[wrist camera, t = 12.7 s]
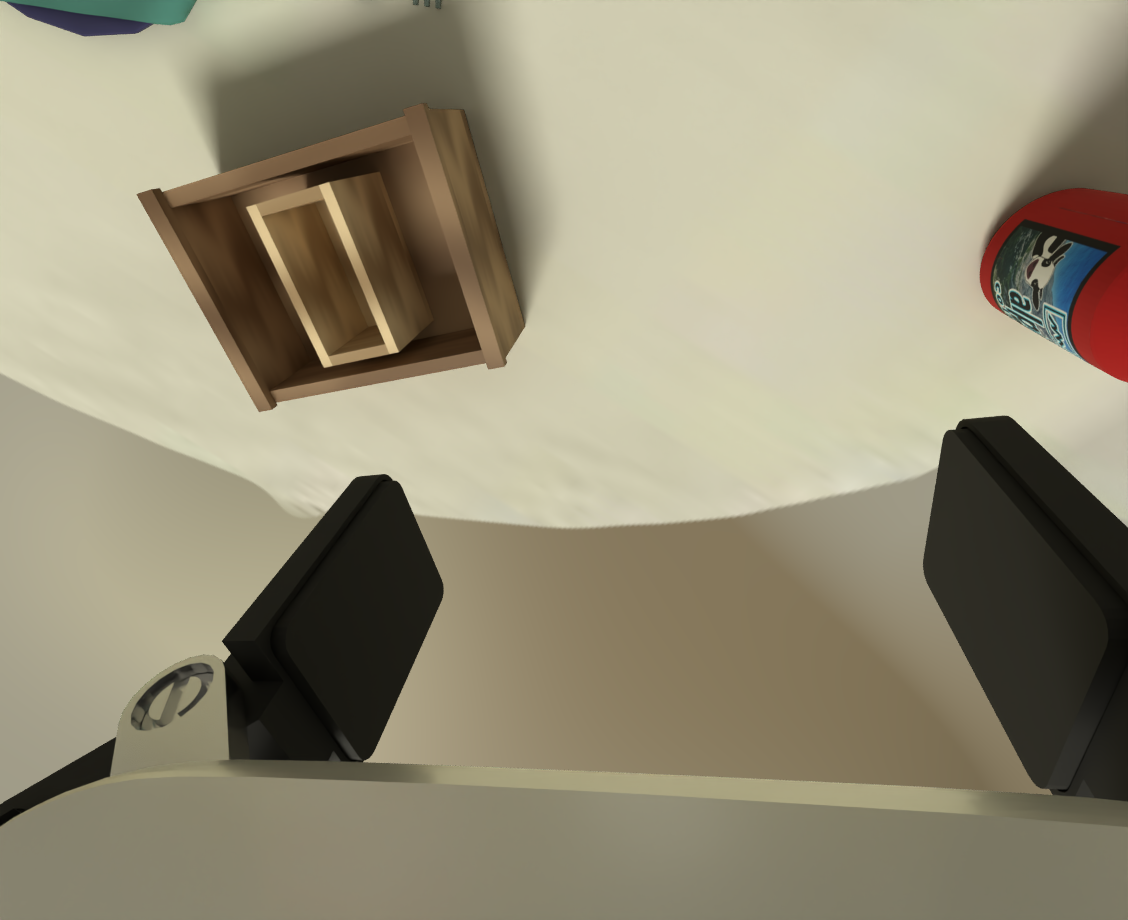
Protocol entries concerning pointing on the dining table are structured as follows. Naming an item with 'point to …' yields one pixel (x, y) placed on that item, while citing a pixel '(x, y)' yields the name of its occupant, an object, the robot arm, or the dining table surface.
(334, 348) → the oak crate
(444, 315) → the walnut crate
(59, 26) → the cutlery set
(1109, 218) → the beverage can
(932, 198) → the dining table surface
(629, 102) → the dining table surface
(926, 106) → the dining table surface
